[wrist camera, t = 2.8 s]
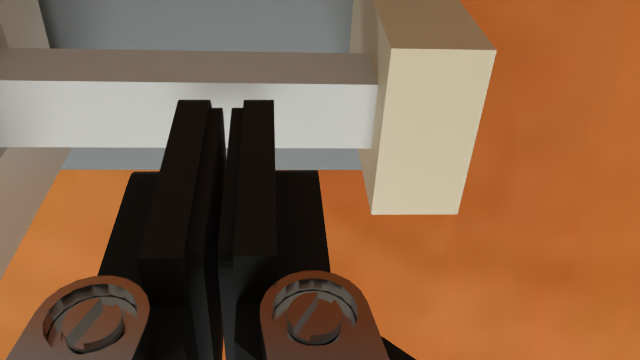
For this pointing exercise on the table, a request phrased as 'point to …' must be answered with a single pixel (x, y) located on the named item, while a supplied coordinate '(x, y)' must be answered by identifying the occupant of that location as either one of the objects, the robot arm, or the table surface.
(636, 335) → the table surface
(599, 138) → the table surface
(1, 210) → the white block
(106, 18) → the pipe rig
